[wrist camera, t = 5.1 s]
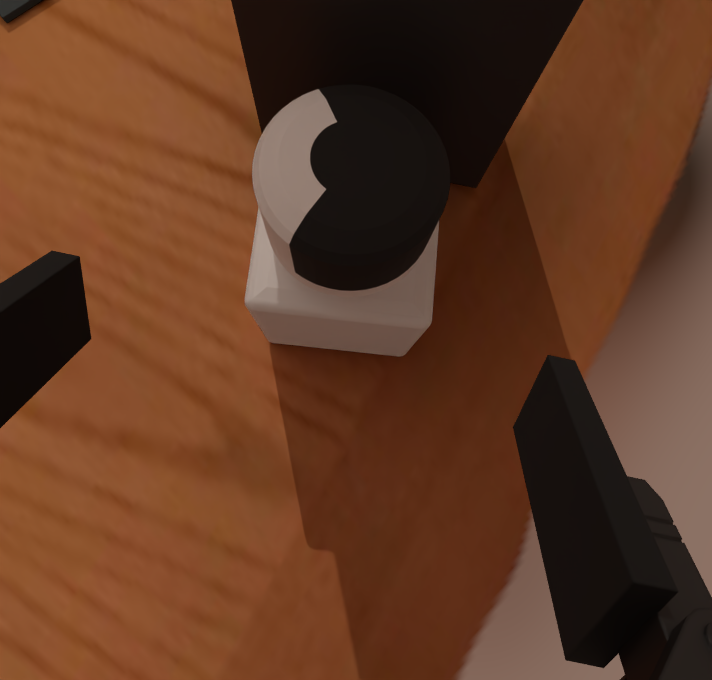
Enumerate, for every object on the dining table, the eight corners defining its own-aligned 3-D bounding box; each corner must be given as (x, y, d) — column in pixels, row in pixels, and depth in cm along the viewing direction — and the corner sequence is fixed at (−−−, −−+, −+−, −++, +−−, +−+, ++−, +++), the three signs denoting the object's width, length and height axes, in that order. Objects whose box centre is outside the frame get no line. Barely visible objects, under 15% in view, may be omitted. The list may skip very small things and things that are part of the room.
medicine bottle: (416, 228, 27) (481, 66, 15) (405, 358, 26) (467, 289, 14) (284, 213, 27) (247, 37, 15) (266, 343, 25) (209, 260, 14)
